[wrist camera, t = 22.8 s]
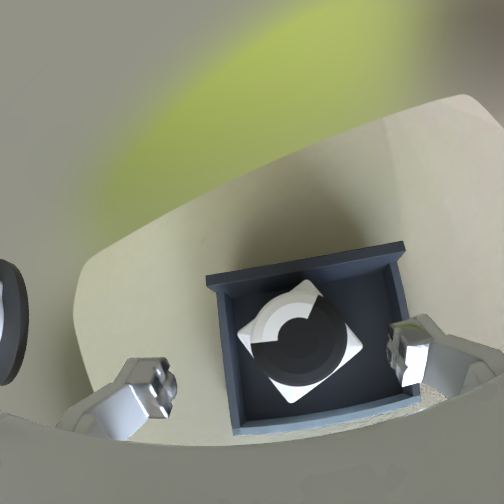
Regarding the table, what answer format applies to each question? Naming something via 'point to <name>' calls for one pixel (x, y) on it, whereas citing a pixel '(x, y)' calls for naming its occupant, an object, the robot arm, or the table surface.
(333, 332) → the medicine bottle
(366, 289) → the drawer
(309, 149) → the table surface
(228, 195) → the table surface
